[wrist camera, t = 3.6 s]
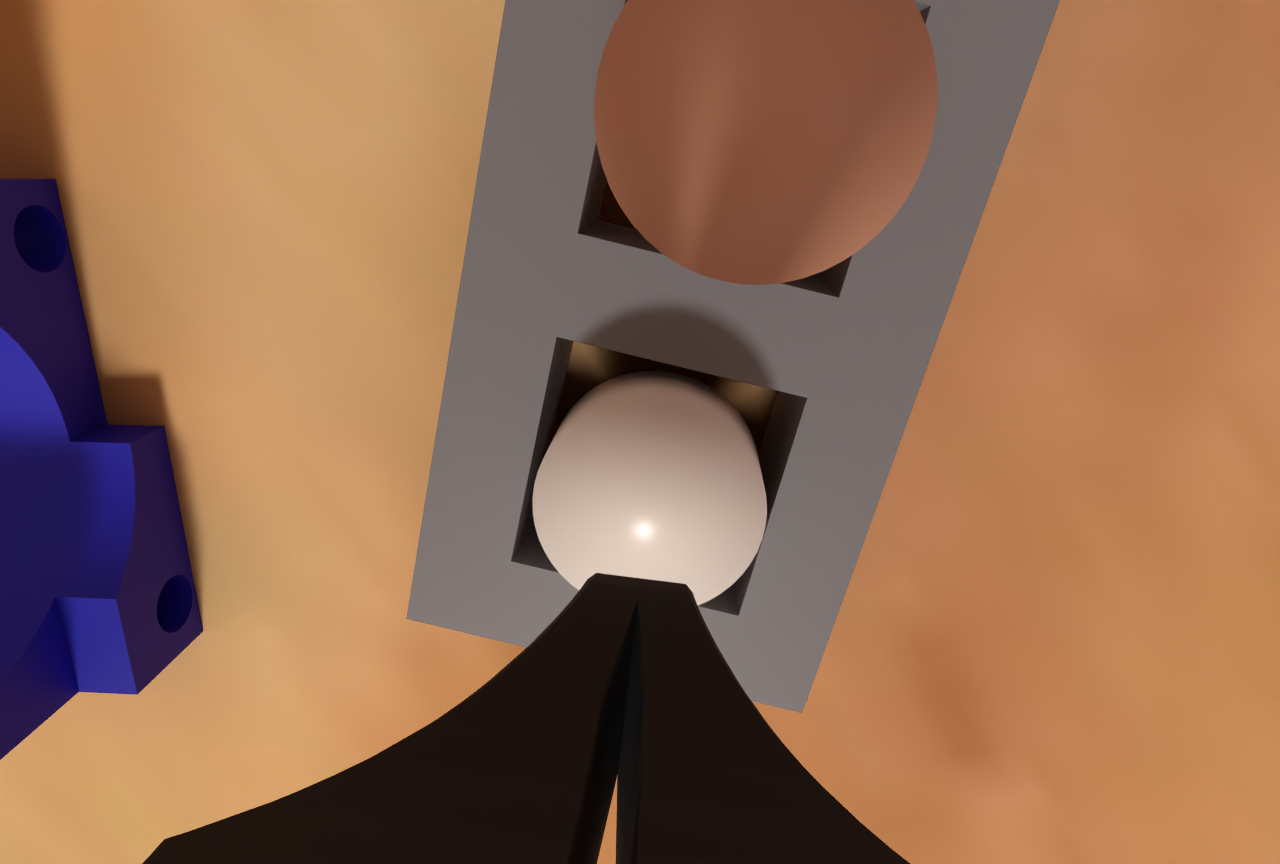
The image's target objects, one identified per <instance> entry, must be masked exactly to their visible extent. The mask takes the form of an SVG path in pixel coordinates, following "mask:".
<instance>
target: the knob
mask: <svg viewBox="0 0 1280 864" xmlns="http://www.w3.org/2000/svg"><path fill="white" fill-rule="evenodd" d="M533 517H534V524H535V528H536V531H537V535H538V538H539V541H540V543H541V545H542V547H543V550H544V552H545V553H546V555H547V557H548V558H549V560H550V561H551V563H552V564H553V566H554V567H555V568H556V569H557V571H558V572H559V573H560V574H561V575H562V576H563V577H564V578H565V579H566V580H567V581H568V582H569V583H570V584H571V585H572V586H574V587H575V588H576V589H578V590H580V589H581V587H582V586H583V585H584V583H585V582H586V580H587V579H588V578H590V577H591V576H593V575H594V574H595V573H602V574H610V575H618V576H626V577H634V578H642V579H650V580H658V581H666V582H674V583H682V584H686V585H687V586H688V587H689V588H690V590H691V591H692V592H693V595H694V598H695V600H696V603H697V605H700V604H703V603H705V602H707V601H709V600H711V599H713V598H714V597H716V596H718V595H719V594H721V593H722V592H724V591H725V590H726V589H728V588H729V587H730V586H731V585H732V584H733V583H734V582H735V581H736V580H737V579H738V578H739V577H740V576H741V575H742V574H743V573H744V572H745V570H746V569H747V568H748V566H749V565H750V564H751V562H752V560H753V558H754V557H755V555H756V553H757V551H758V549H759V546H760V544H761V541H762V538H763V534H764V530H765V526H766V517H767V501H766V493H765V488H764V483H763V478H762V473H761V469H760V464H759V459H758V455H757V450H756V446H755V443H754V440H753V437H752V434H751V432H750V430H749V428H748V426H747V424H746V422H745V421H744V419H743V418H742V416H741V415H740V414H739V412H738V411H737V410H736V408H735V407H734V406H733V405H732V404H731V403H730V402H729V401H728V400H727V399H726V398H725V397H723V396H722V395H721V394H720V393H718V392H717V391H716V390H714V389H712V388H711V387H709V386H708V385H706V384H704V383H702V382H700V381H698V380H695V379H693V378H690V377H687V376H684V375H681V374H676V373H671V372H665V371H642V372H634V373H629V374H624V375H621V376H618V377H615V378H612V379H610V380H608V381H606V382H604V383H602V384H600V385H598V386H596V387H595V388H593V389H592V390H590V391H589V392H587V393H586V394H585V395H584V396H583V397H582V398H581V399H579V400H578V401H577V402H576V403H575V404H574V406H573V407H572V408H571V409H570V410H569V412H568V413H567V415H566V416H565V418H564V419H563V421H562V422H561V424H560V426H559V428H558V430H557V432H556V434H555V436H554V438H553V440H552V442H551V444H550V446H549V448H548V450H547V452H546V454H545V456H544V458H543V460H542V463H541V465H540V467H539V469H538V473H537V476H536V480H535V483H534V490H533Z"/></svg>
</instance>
